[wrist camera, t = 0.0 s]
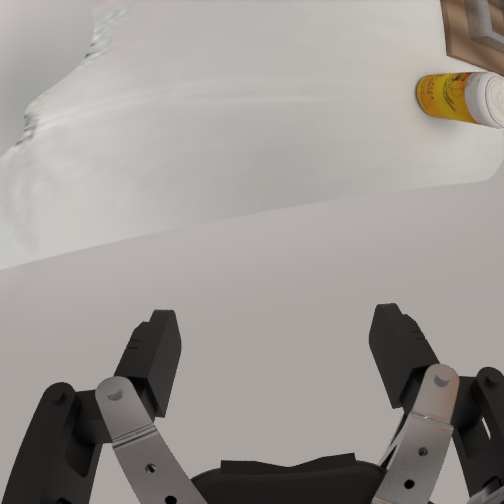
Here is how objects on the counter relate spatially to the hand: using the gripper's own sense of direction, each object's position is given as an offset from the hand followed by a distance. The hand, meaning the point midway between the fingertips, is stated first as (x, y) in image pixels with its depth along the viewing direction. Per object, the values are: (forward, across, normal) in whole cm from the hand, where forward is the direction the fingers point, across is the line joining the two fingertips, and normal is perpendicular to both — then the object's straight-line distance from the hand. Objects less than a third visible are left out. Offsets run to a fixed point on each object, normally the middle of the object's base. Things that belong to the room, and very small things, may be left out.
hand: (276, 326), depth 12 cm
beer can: (+30, -24, -12) cm, 40 cm away
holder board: (+29, -36, -28) cm, 54 cm away
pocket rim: (+28, -36, -28) cm, 53 cm away
